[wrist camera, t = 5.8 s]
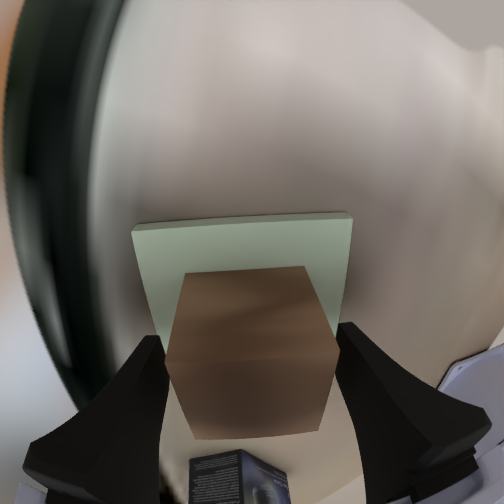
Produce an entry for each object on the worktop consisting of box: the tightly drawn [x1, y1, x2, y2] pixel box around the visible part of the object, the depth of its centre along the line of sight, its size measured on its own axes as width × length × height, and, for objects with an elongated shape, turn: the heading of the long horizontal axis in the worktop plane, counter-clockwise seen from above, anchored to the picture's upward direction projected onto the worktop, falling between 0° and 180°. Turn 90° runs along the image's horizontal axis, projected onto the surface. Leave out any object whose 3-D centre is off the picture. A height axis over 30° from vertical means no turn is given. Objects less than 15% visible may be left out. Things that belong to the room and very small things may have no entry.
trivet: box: [131, 212, 353, 354], centre depth 14 cm, size 9×9×1 cm
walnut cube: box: [164, 266, 340, 440], centre depth 11 cm, size 5×5×5 cm
